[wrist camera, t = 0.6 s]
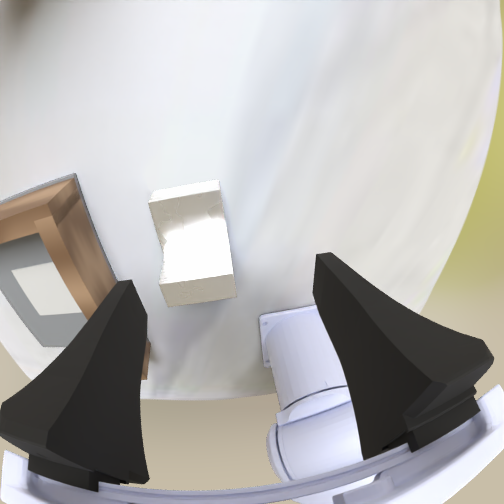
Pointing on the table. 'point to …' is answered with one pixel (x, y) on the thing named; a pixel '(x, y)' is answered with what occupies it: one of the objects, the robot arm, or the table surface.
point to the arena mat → (41, 284)
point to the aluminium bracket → (193, 244)
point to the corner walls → (64, 242)
